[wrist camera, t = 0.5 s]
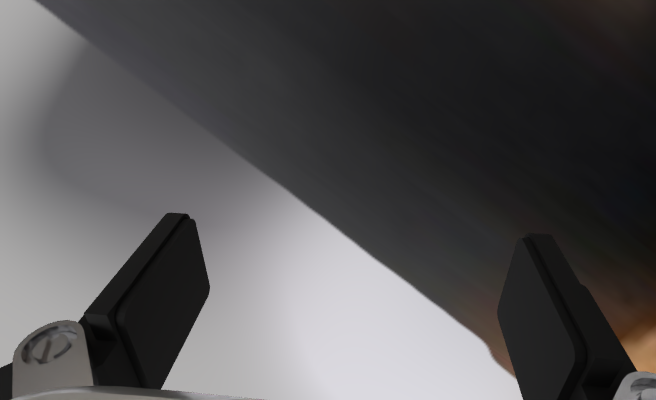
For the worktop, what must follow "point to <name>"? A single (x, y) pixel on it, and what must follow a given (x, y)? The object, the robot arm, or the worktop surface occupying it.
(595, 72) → the worktop surface
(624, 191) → the worktop surface
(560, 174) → the worktop surface
